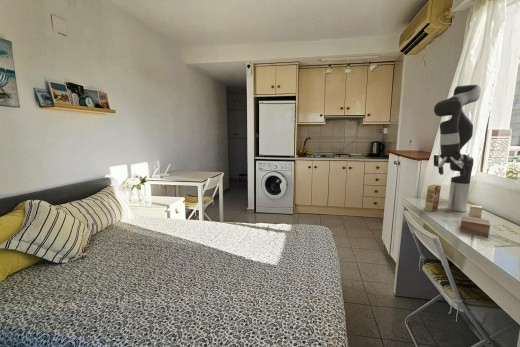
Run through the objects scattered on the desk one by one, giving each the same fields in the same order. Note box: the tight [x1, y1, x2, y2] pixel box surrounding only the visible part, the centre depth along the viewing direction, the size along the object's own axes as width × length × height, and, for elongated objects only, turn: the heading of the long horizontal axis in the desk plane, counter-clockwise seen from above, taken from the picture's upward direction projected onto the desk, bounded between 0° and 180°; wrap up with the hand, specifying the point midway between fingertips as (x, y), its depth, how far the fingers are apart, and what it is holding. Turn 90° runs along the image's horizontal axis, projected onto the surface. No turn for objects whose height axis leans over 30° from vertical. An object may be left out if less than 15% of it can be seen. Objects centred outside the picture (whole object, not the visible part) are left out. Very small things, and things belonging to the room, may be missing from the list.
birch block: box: [468, 204, 483, 218], centre depth 127 cm, size 4×4×10 cm
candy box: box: [424, 184, 442, 212], centre depth 154 cm, size 9×4×15 cm, turn 123°
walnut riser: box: [459, 214, 491, 238], centre depth 119 cm, size 10×10×6 cm
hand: (451, 174), depth 123 cm, fingers open, 8 cm apart
